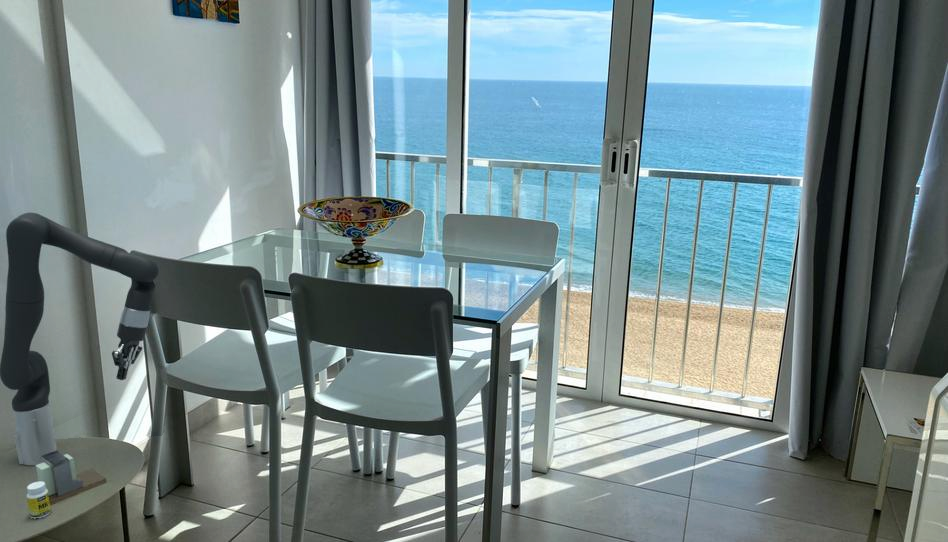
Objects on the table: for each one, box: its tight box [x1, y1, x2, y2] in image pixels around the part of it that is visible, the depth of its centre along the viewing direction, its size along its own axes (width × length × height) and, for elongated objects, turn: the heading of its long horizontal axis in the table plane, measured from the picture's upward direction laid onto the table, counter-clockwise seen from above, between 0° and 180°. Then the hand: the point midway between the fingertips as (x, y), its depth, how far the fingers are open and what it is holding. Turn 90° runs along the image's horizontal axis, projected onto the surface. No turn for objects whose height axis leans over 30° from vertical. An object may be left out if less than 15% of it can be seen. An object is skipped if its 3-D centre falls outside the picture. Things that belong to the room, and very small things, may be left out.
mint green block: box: [35, 453, 77, 496], centre depth 192 cm, size 8×4×8 cm, turn 141°
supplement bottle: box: [26, 481, 52, 520], centre depth 182 cm, size 5×5×8 cm
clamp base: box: [41, 449, 107, 506], centre depth 195 cm, size 15×9×10 cm, turn 141°
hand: (120, 379), depth 209 cm, fingers closed
